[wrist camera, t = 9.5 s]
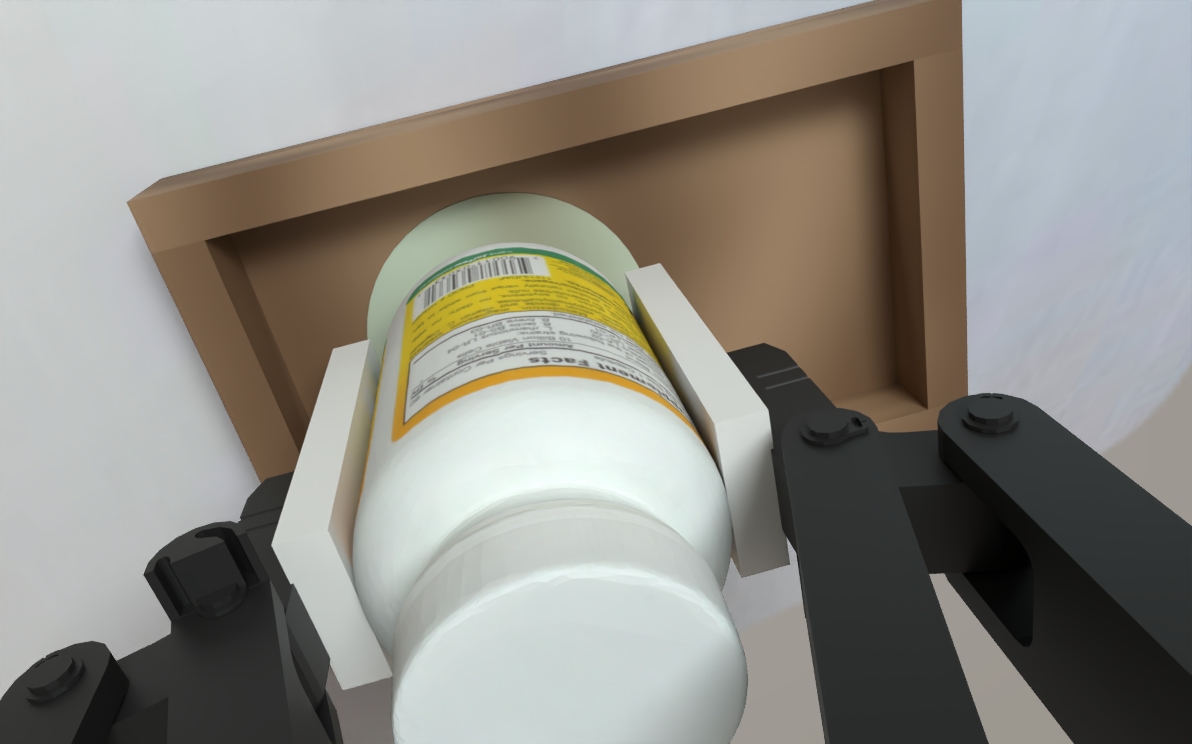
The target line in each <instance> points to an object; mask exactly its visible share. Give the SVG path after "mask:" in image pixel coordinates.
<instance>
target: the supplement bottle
mask: <svg viewBox="0 0 1192 744" xmlns="http://www.w3.org/2000/svg"><path fill="white" fill-rule="evenodd" d="M731 550H732V522H731V512H730V506H729V502H728V498H727V494H726V490H725V487H724V484H723V481H722V479H721V476H720V474H719V471H718V469H717V467H716V465H715V462H714V460H713V458H712V457H711V455H710V453H709V451H708V449H707V447H706V446H705V444H704V442H703V440H702V438H701V436H700V435H699V433H698V431H697V429H696V427H695V425H694V424H693V422H692V420H691V418H690V417H689V415H688V413H687V412H686V410H685V408H684V406H683V404H682V402H681V400H680V399H679V397H678V395H677V393H676V391H675V389H674V388H673V386H672V384H671V382H670V381H669V379H668V377H667V376H666V374H665V372H664V370H663V368H662V367H661V365H660V363H659V361H658V359H657V357H656V356H655V354H654V352H653V350H652V349H651V347H650V345H649V343H648V341H647V340H646V338H645V336H644V334H643V332H642V330H641V328H640V326H639V324H638V323H637V321H636V319H635V317H634V315H633V313H632V311H631V310H630V308H629V307H628V305H627V303H626V302H625V300H624V299H623V297H622V296H621V294H620V293H619V292H618V290H617V289H616V287H615V286H614V285H613V284H612V283H611V282H610V281H609V280H608V279H607V278H606V277H605V276H604V275H603V274H602V273H601V272H599V271H598V270H597V269H595V268H594V267H593V266H591V265H590V264H588V263H587V262H585V261H583V260H581V259H580V258H578V257H576V256H574V255H572V254H570V253H568V252H565V251H563V250H560V249H557V248H554V247H550V246H546V245H540V244H534V243H522V242H509V243H496V244H489V245H485V246H481V247H477V248H474V249H471V250H468V251H465V252H462V253H460V254H458V255H455V256H453V257H451V258H449V259H447V260H445V261H444V262H442V263H441V264H439V265H438V266H436V267H435V268H433V269H432V270H431V271H430V272H429V273H427V274H426V275H425V276H424V277H423V278H422V279H421V280H420V281H419V282H418V283H417V284H416V285H415V286H414V287H413V288H412V289H411V290H410V292H409V293H408V294H407V296H406V297H405V298H404V300H403V301H402V303H401V305H400V306H399V308H398V310H397V312H396V314H395V316H394V318H393V320H392V322H391V325H390V328H389V331H388V334H387V338H386V343H385V347H384V352H383V357H382V364H381V372H380V376H379V383H378V389H377V395H376V402H375V408H374V414H373V420H372V426H371V432H370V439H369V445H368V451H367V457H366V462H365V468H364V474H363V479H362V485H361V491H360V496H359V502H358V508H357V513H356V520H355V527H354V534H353V554H352V559H353V572H354V580H355V585H356V589H357V593H358V597H359V600H360V603H361V606H362V609H363V612H364V614H365V616H366V619H367V621H368V623H369V625H370V627H371V628H372V630H373V632H374V633H375V635H376V637H377V638H378V640H379V641H380V643H381V644H382V645H383V646H384V648H385V649H386V650H387V652H388V653H389V654H390V655H391V656H392V666H393V677H392V699H391V722H392V732H393V738H394V743H395V744H730V742H731V740H732V738H733V736H734V734H735V732H736V730H737V728H738V726H739V724H740V721H741V718H742V715H743V712H744V708H745V704H746V696H747V686H748V674H747V665H746V658H745V653H744V650H743V647H742V644H741V641H740V638H739V635H738V632H737V629H736V627H735V625H734V622H733V620H732V617H731V615H730V613H729V610H728V608H727V606H726V603H725V601H724V599H723V596H722V593H721V591H722V589H723V586H724V583H725V580H726V576H727V572H728V568H729V564H730V558H731Z"/></svg>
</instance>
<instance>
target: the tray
mask: <svg viewBox="0 0 1192 744" xmlns="http://www.w3.org/2000/svg"><path fill="white" fill-rule="evenodd" d="M127 204H128V206H129V208H130V210H131V212H132V214H133V216H134V219H135V221H136V223H137V225H138V227H139V229H140V231H141V233H142V235H143V237H144V239H145V242H146V244H147V246H148V248H149V250H150V252H151V254H152V256H153V258H154V260H155V262H156V264H157V267H158V269H159V271H160V273H161V275H162V277H163V279H164V281H165V283H166V285H167V287H168V289H169V292H170V294H171V296H172V298H173V300H174V302H175V304H176V306H177V308H178V310H179V312H180V315H181V317H182V319H183V321H184V323H185V325H186V327H187V329H188V331H189V333H190V335H191V337H192V340H193V342H194V344H195V346H196V348H197V350H198V352H199V354H200V356H201V358H202V360H203V362H204V365H205V367H206V369H207V371H208V373H209V375H210V377H211V379H212V381H213V383H214V385H215V388H216V390H217V392H218V394H219V396H220V398H221V400H222V402H223V404H224V406H225V408H226V410H227V413H228V415H229V417H230V419H231V421H232V423H233V425H234V427H235V429H236V431H237V433H238V435H239V438H240V440H241V442H242V444H243V446H244V448H245V450H246V452H247V454H248V456H249V458H250V461H251V463H252V465H253V467H254V469H255V471H256V473H257V475H258V477H259V479H260V481H261V483H262V482H263V481H264V480H265V479H267V478H271V477H274V476H278V475H282V474H285V473H289V472H293V471H295V468H296V465H297V462H298V459H299V456H300V452H301V449H302V446H303V443H304V440H305V437H306V433H307V430H308V427H309V424H310V421H311V418H312V414H313V411H314V408H315V405H316V402H317V398H318V395H319V392H320V389H321V386H322V383H323V379H324V376H325V373H326V370H327V367H328V364H329V360H330V357H331V354H332V351H333V349H334V348H338V347H342V346H346V345H350V344H353V343H357V342H361V341H365V340H369V339H370V341H371V344H372V346H373V349H374V352H375V354H376V357H377V360H378V362H379V365H380V368H381V364H382V357H383V352H384V347H385V343H386V338H387V334H388V331H389V328H390V325H391V322H392V320H393V318H394V316H395V314H396V312H397V310H398V308H399V306H400V305H401V303H402V301H403V300H404V298H405V297H406V296H407V294H408V293H409V292H410V290H411V289H412V288H413V287H414V286H415V285H416V284H417V283H418V282H419V281H420V280H421V279H422V278H423V277H424V276H425V275H426V274H427V273H429V272H430V271H431V270H432V269H433V268H435V267H436V266H438V265H439V264H441V263H442V262H444V261H445V260H447V259H449V258H451V257H453V256H455V255H458V254H460V253H462V252H465V251H468V250H471V249H474V248H477V247H481V246H485V245H489V244H496V243H509V242H522V243H534V244H540V245H546V246H550V247H554V248H557V249H560V250H563V251H565V252H568V253H570V254H572V255H574V256H576V257H578V258H580V259H581V260H583V261H585V262H587V263H588V264H590V265H591V266H593V267H594V268H595V269H597V270H598V271H599V272H601V273H602V274H603V275H604V276H605V277H606V278H607V279H608V280H609V281H610V282H611V283H612V284H613V285H614V286H615V287H616V289H617V290H618V292H619V293H620V294H621V296H622V297H623V299H624V300H625V302H626V303H627V305H628V307H629V308H630V310H631V311H632V313H633V310H632V306H631V301H630V296H629V291H628V287H627V282H626V277H625V273H624V272H628V271H631V270H635V269H639V268H643V267H647V266H651V265H654V264H658V263H660V264H661V265H662V267H663V268H664V269H665V271H666V272H667V273H668V275H669V276H670V277H671V279H672V280H673V281H674V283H675V284H676V285H677V287H678V288H679V290H680V291H681V292H682V294H683V295H684V296H685V298H686V299H687V300H688V302H689V303H690V304H691V306H692V307H693V308H694V310H695V311H696V313H697V314H698V315H699V317H700V318H701V319H702V321H703V322H704V323H705V325H706V326H707V327H708V329H709V330H710V331H711V333H712V334H713V336H714V337H715V338H716V340H717V341H718V342H719V344H720V345H721V346H722V348H723V349H724V350H725V352H726V353H727V352H731V351H735V350H739V349H742V348H746V347H750V346H753V345H757V344H761V343H766V344H769V345H771V346H774V347H776V348H779V349H781V350H784V351H786V352H787V353H788V354H789V355H790V357H791V358H792V359H793V360H794V361H795V362H796V363H797V364H798V367H800V368H801V369H802V370H803V371H804V372H805V373H806V374H807V377H808V378H810V379H811V380H812V381H813V382H814V383H815V384H816V385H817V386H818V388H819V389H820V390H821V391H822V392H823V393H824V394H825V395H826V396H827V398H828V399H829V400H830V401H831V402H832V403H833V404H834V405H835V406H836V408H844V409H849V410H854V411H858V412H860V413H862V414H864V415H866V416H868V417H870V418H871V419H872V421H873V422H874V423H875V425H876V426H877V428H878V431H882V432H916V431H929V430H938V427H937V420H938V416H939V411H940V410H941V409H942V408H943V407H945V406H946V405H947V404H948V403H949V402H951V401H954V400H956V399H959V398H962V397H964V396H968V370H967V307H966V244H965V181H964V119H963V56H962V0H875V1H871V2H867V3H863V4H859V5H854V6H850V7H846V8H842V9H838V10H834V11H830V12H826V13H822V14H818V15H814V16H810V17H806V18H802V19H798V20H794V21H790V22H786V23H782V24H778V25H774V26H770V27H766V28H762V29H758V30H754V31H750V32H746V33H742V34H738V35H734V36H730V37H726V38H722V39H718V40H714V41H710V42H706V43H702V44H698V45H694V46H690V47H686V48H682V49H678V50H674V51H670V52H666V53H662V54H658V55H654V56H650V57H646V58H642V59H638V60H634V61H630V62H626V63H622V64H618V65H614V66H610V67H606V68H602V69H598V70H594V71H590V72H586V73H582V74H578V75H574V76H570V77H566V78H562V79H558V80H554V81H550V82H546V83H542V84H538V85H534V86H530V87H526V88H522V89H518V90H514V91H510V92H506V93H502V94H498V95H494V96H490V97H486V98H482V99H478V100H474V101H470V102H466V103H462V104H458V105H454V106H450V107H446V108H442V109H438V110H434V111H430V112H426V113H422V114H418V115H414V116H410V117H406V118H402V119H398V120H394V121H390V122H386V123H382V124H378V125H374V126H370V127H366V128H362V129H358V130H354V131H350V132H346V133H342V134H338V135H334V136H330V137H326V138H322V139H318V140H314V141H310V142H306V143H302V144H298V145H294V146H290V147H286V148H282V149H278V150H274V151H270V152H266V153H262V154H258V155H254V156H250V157H246V158H242V159H238V160H234V161H230V162H226V163H222V164H218V165H214V166H210V167H206V168H202V169H198V170H194V171H190V172H186V173H182V174H178V175H174V176H170V177H166V178H162V179H160V180H158V181H157V182H155V183H154V184H153V185H151V186H150V187H148V188H147V189H145V190H144V191H142V192H141V193H139V194H138V195H136V196H135V197H134V198H132V199H131V200H129V201H128V202H127Z"/></svg>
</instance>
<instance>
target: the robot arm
mask: <svg viewBox="0 0 1192 744" xmlns="http://www.w3.org/2000/svg"><path fill="white" fill-rule="evenodd" d="M624 273H625V277H626V282H627V287H628V291H629V296H630V301H631V306H632V310H633V315H634V317H635V319H636V321H637V323H638V324H639V326H640V328H641V330H642V332H643V334H644V336H645V338H646V340H647V341H648V343H649V345H650V347H651V349H652V350H653V352H654V354H655V356H656V357H657V359H658V361H659V363H660V365H661V367H662V368H663V370H664V372H665V374H666V376H667V377H668V379H669V381H670V382H671V384H672V386H673V388H674V389H675V391H676V393H677V395H678V397H679V399H680V400H681V402H682V404H683V406H684V408H685V410H686V412H687V413H688V415H689V417H690V418H691V420H692V422H693V424H694V425H695V427H696V429H697V431H698V433H699V435H700V436H701V438H702V440H703V442H704V444H705V446H706V447H707V449H708V451H709V453H710V455H711V457H712V458H713V460H714V462H715V465H716V467H717V469H718V471H719V474H720V476H721V479H722V481H723V484H724V487H725V490H726V494H727V498H728V502H729V506H730V512H731V522H732V550H731V557H732V559H733V561H734V563H735V565H736V567H737V569H738V571H739V573H740V575H741V577H742V578H743V577H747V576H750V575H754V574H757V573H761V572H764V571H768V570H771V569H775V568H779V567H782V566H786V565H789V564H790V560H789V553H788V546H787V539H786V537H787V538H788V540H789V542H790V543H791V545H792V547H793V548H794V550H795V552H796V553H797V561H798V568H799V576H800V583H801V590H802V598H803V605H804V612H805V618H806V622H807V628H808V635H809V641H810V647H811V654H812V661H813V667H814V673H815V680H816V686H817V693H818V699H819V705H820V712H821V719H822V726H823V732H824V739H825V744H989V743H988V740H987V738H986V735H985V732H984V729H983V726H982V723H981V721H980V718H979V715H978V712H977V709H976V706H975V704H974V701H973V698H972V695H971V692H970V689H969V686H968V684H967V681H966V678H965V675H964V672H963V669H962V667H961V664H960V661H959V658H958V655H957V652H956V650H955V647H954V644H953V641H952V638H951V635H950V633H949V630H948V627H947V624H946V621H945V618H944V615H943V613H942V610H941V607H940V604H939V601H938V599H937V596H936V593H935V590H934V587H933V584H932V582H931V579H930V576H929V574H937V573H945V575H946V577H947V580H948V581H949V583H950V584H951V585H952V586H953V588H954V589H955V590H956V592H957V593H958V594H959V595H960V597H961V598H962V599H963V601H964V602H965V603H966V605H967V606H968V607H969V608H970V610H971V611H972V612H973V614H974V615H975V616H976V618H977V619H978V620H979V621H980V623H981V624H982V625H983V627H984V628H985V629H986V630H987V632H988V633H989V634H990V636H991V637H992V638H993V639H994V641H995V642H996V643H997V645H998V646H999V647H1000V648H1001V650H1002V651H1003V652H1004V654H1005V655H1006V656H1007V658H1008V659H1009V660H1010V661H1011V663H1012V664H1013V665H1014V667H1015V668H1016V669H1017V671H1018V672H1019V673H1020V674H1021V676H1022V677H1023V678H1024V680H1025V681H1026V682H1027V683H1028V685H1029V686H1030V687H1031V689H1032V690H1033V691H1034V693H1035V694H1036V695H1037V696H1038V698H1039V699H1040V700H1041V702H1042V703H1043V704H1044V705H1045V707H1046V708H1047V709H1048V711H1049V712H1050V713H1051V714H1052V716H1053V717H1054V718H1055V720H1056V721H1057V722H1058V723H1059V725H1060V726H1061V727H1062V729H1063V730H1064V731H1065V733H1066V734H1067V735H1068V736H1069V738H1070V739H1071V740H1072V741H1073V743H1074V744H1192V526H1191V525H1190V524H1188V523H1187V522H1186V521H1185V520H1183V519H1182V518H1181V517H1179V516H1178V515H1177V514H1175V513H1174V512H1173V511H1172V510H1170V509H1169V508H1168V507H1166V506H1165V505H1164V504H1163V503H1161V502H1160V501H1159V500H1157V499H1156V498H1155V497H1154V496H1152V495H1151V494H1150V493H1148V492H1147V491H1146V490H1145V489H1143V488H1142V487H1140V486H1139V485H1138V484H1137V483H1135V482H1134V481H1133V480H1131V479H1130V478H1129V477H1128V476H1126V475H1125V474H1124V473H1123V472H1121V471H1120V470H1119V469H1117V468H1116V467H1115V466H1114V465H1112V464H1111V463H1110V462H1108V461H1107V460H1106V459H1104V458H1103V457H1102V456H1101V455H1099V454H1098V453H1097V452H1095V451H1094V450H1093V449H1092V448H1090V447H1089V446H1088V445H1086V444H1085V443H1084V442H1083V441H1081V440H1080V439H1079V438H1077V437H1076V436H1075V435H1074V434H1072V433H1071V432H1070V431H1068V430H1067V429H1066V428H1064V427H1063V426H1062V425H1061V424H1059V423H1058V422H1057V421H1055V420H1054V419H1053V418H1052V417H1050V416H1049V415H1048V414H1046V413H1045V412H1044V411H1043V410H1041V409H1040V408H1039V407H1037V406H1036V405H1034V404H1032V403H1030V402H1028V401H1026V400H1024V399H1021V398H1017V397H1013V396H1009V395H1005V394H997V393H993V394H991V393H981V394H977V395H970V396H964V397H962V398H959V399H956V400H954V401H951V402H949V403H948V404H947V405H946V406H945V407H943V408H942V409H941V410H940V411H939V416H938V420H937V427H938V430H929V431H916V432H882V431H878V428H877V426H876V425H875V423H874V422H873V421H872V419H871V418H870V417H868V416H866V415H864V414H862V413H860V412H858V411H854V410H849V409H844V408H836V406H835V405H834V404H833V403H832V402H831V401H830V400H829V399H828V398H827V396H826V395H825V394H824V393H823V392H822V391H821V390H820V389H819V388H818V386H817V385H816V384H815V383H814V382H813V381H812V380H811V379H810V378H808V377H807V374H806V373H805V372H804V371H803V370H802V369H801V368H800V367H798V364H797V363H796V362H795V361H794V360H793V359H792V358H791V357H790V355H789V354H788V353H787V352H786V351H784V350H781V349H779V348H776V347H774V346H771V345H769V344H766V343H761V344H757V345H753V346H750V347H746V348H742V349H739V350H735V351H731V352H727V353H726V352H725V350H724V349H723V348H722V346H721V345H720V344H719V342H718V341H717V340H716V338H715V337H714V336H713V334H712V333H711V331H710V330H709V329H708V327H707V326H706V325H705V323H704V322H703V321H702V319H701V318H700V317H699V315H698V314H697V313H696V311H695V310H694V308H693V307H692V306H691V304H690V303H689V302H688V300H687V299H686V298H685V296H684V295H683V294H682V292H681V291H680V290H679V288H678V287H677V285H676V284H675V283H674V281H673V280H672V279H671V277H670V276H669V275H668V273H667V272H666V271H665V269H664V268H663V267H662V265H661V264H660V263H658V264H654V265H651V266H647V267H643V268H639V269H635V270H631V271H628V272H624ZM380 372H381V368H380V365H379V362H378V360H377V357H376V354H375V352H374V349H373V346H372V344H371V341H370V339H369V340H365V341H361V342H357V343H353V344H350V345H346V346H342V347H338V348H334V349H333V351H332V354H331V357H330V360H329V364H328V367H327V370H326V373H325V376H324V379H323V383H322V386H321V389H320V392H319V395H318V398H317V402H316V405H315V408H314V411H313V414H312V418H311V421H310V424H309V427H308V430H307V433H306V437H305V440H304V443H303V446H302V449H301V452H300V456H299V459H298V462H297V465H296V468H295V471H293V472H289V473H285V474H282V475H278V476H274V477H271V478H267V479H265V480H264V481H263V482H262V484H261V485H260V486H259V487H258V488H257V489H256V490H255V491H254V492H253V493H252V494H251V495H250V497H249V498H248V499H247V501H246V504H245V507H244V509H243V512H242V514H241V517H240V518H241V521H239V522H238V523H235V522H231V521H227V522H215V523H211V524H208V525H205V526H202V527H198V528H195V529H193V530H191V531H189V532H187V533H185V534H183V535H181V536H179V537H177V538H176V539H174V540H173V541H172V542H170V543H169V544H167V545H166V546H165V547H163V548H162V549H161V550H159V552H158V553H157V554H156V555H155V556H154V557H153V558H152V559H151V560H150V561H149V563H148V565H147V567H146V570H145V572H144V576H145V578H146V580H147V582H148V583H149V585H150V587H151V588H152V590H153V592H154V593H155V595H156V597H157V598H158V600H159V602H160V603H161V605H162V607H163V609H164V610H165V612H166V614H167V615H168V617H169V619H170V620H171V634H170V635H168V636H166V637H164V638H162V639H160V640H159V641H157V642H155V643H153V644H151V645H149V646H147V647H145V648H143V649H140V650H138V651H136V652H134V653H132V654H130V655H128V656H126V657H124V658H122V659H120V660H118V661H116V660H115V659H114V657H113V655H112V654H111V652H110V651H109V649H108V648H107V646H106V645H105V644H103V643H99V642H94V641H90V642H84V643H78V644H74V645H71V646H69V647H66V648H64V649H61V650H57V651H55V652H53V653H51V654H49V655H47V656H46V658H42V659H41V660H39V661H37V662H36V663H34V664H33V665H32V666H31V667H30V668H29V669H28V670H27V671H26V672H25V673H23V674H22V675H21V676H20V677H19V678H18V679H16V680H15V682H14V683H13V684H12V685H11V687H10V688H9V689H8V690H7V692H6V693H5V694H4V695H3V697H2V699H1V700H0V744H344V743H343V739H342V734H341V729H340V725H339V720H338V715H337V711H336V709H335V707H334V705H333V703H332V701H331V699H330V697H329V695H328V693H327V691H326V689H325V687H326V681H327V675H328V670H329V664H330V665H331V667H332V669H333V671H334V674H335V676H336V678H337V680H338V682H339V684H340V686H341V688H342V690H347V689H350V688H354V687H357V686H361V685H364V684H368V683H371V682H375V681H378V680H382V679H385V678H389V677H393V666H392V656H391V655H390V654H389V653H388V652H387V650H386V649H385V648H384V646H383V645H382V644H381V643H380V641H379V640H378V638H377V637H376V635H375V633H374V632H373V630H372V628H371V627H370V625H369V623H368V621H367V619H366V616H365V614H364V612H363V609H362V606H361V603H360V600H359V597H358V593H357V589H356V585H355V580H354V572H353V559H352V554H353V534H354V527H355V520H356V513H357V508H358V502H359V496H360V491H361V485H362V479H363V474H364V468H365V462H366V457H367V451H368V445H369V439H370V432H371V426H372V420H373V414H374V408H375V402H376V395H377V389H378V383H379V376H380Z"/></svg>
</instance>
